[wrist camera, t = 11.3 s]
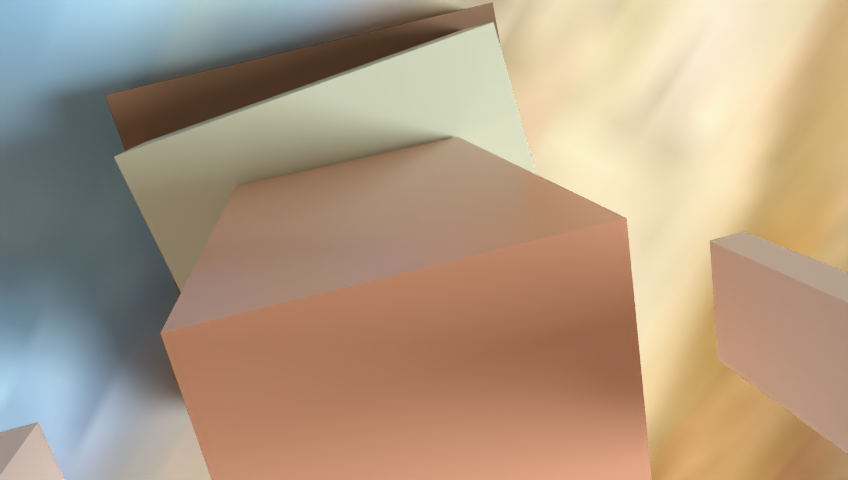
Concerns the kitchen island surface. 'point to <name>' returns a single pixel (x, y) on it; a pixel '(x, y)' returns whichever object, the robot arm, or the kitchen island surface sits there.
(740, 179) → the kitchen island surface
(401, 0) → the kitchen island surface
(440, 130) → the sage block
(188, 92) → the walnut block
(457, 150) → the terracotta block
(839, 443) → the robot arm
